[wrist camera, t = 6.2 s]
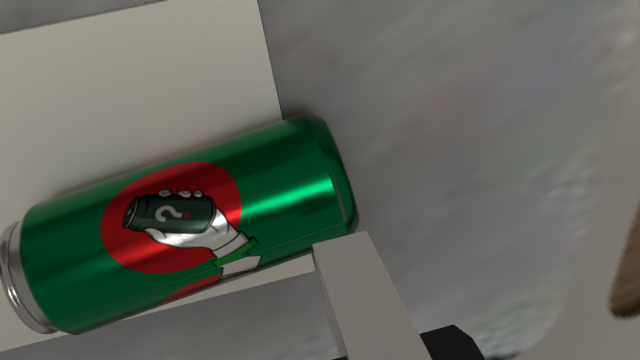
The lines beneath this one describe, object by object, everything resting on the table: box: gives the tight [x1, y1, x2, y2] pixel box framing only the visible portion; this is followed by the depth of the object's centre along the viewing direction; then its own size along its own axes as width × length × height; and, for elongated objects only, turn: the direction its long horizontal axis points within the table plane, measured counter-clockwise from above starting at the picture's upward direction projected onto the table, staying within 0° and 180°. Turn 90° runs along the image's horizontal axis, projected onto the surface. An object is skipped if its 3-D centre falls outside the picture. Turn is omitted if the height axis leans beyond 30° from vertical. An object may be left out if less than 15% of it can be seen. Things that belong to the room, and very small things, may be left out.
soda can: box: [0, 113, 359, 335], centre depth 20 cm, size 5×5×12 cm
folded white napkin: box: [0, 0, 315, 352], centre depth 22 cm, size 18×13×1 cm
